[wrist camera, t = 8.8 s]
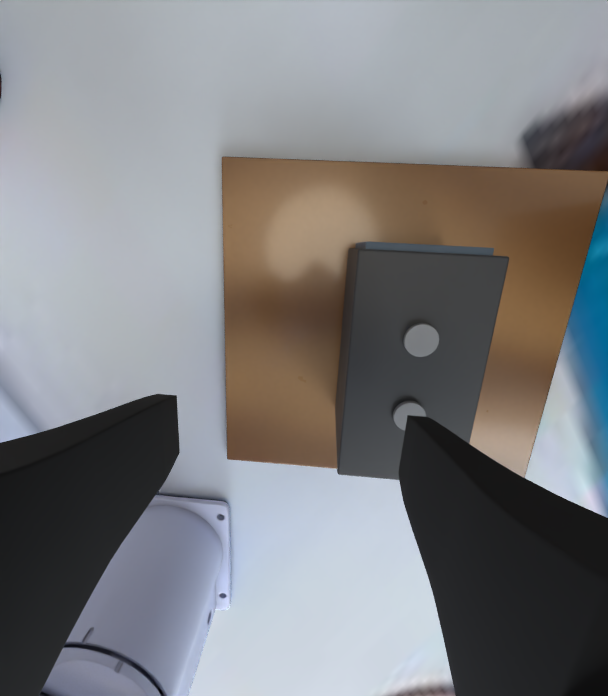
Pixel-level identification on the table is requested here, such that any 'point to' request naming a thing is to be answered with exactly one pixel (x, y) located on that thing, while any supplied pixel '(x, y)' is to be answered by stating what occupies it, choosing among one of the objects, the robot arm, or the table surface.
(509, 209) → the cork mat
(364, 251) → the speaker
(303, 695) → the table surface
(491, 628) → the robot arm
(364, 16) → the table surface
